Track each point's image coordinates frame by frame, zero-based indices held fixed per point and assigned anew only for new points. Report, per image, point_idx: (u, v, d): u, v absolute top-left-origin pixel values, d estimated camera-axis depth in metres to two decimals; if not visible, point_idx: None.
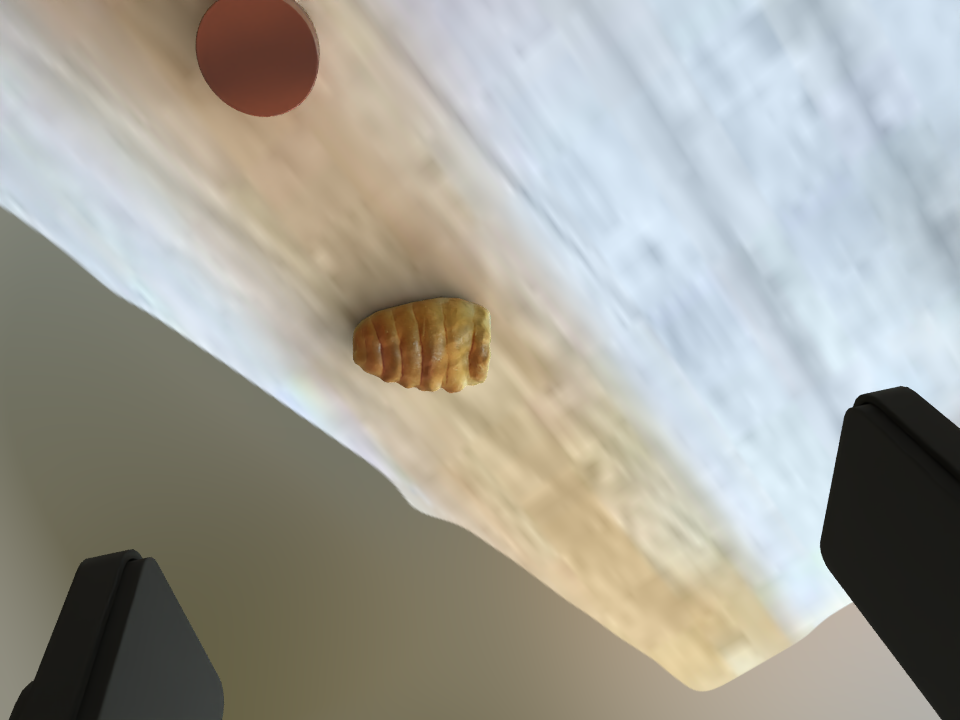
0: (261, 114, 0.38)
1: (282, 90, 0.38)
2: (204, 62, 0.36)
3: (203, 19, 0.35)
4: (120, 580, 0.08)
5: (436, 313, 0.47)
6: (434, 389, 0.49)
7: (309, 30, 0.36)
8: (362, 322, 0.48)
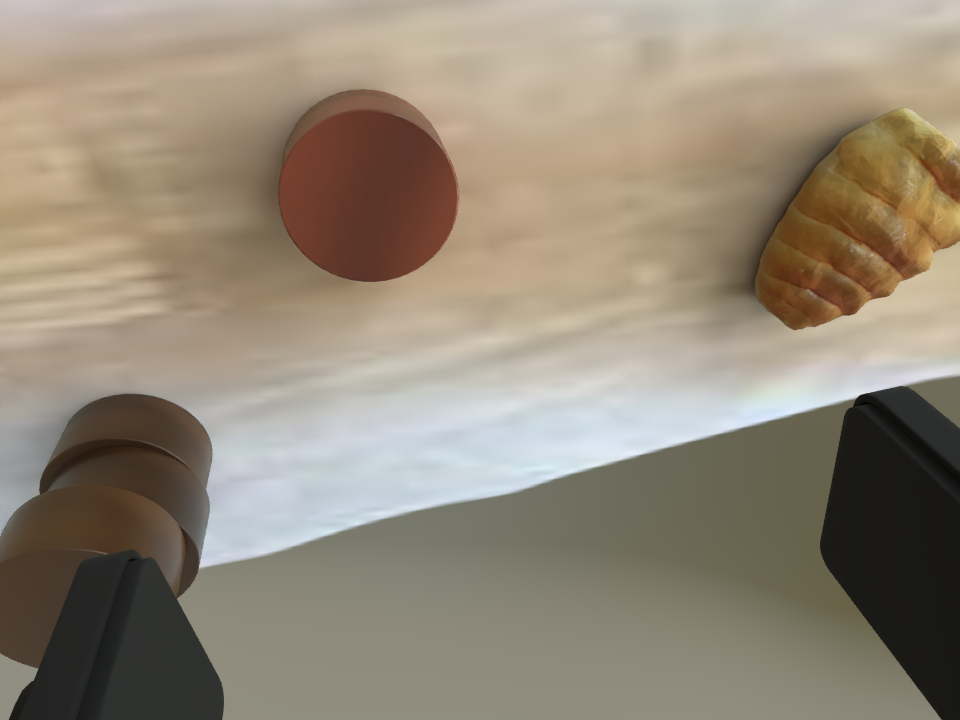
0: (439, 244, 0.25)
1: (428, 200, 0.25)
2: (341, 269, 0.25)
3: (292, 236, 0.24)
4: (120, 580, 0.08)
5: (841, 189, 0.28)
6: (929, 265, 0.30)
7: (377, 111, 0.23)
8: (758, 283, 0.32)
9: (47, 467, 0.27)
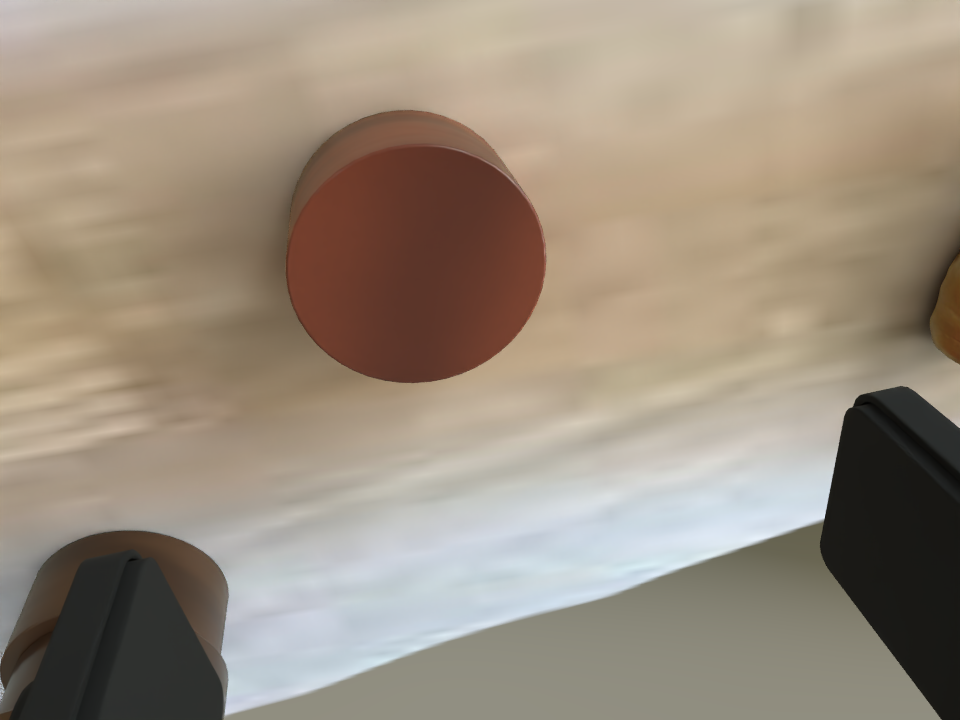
0: (520, 324, 0.18)
1: (503, 266, 0.17)
2: (383, 369, 0.18)
3: (310, 333, 0.17)
4: (120, 580, 0.08)
5: None
6: None
7: (424, 146, 0.15)
8: (936, 323, 0.23)
9: (6, 650, 0.20)
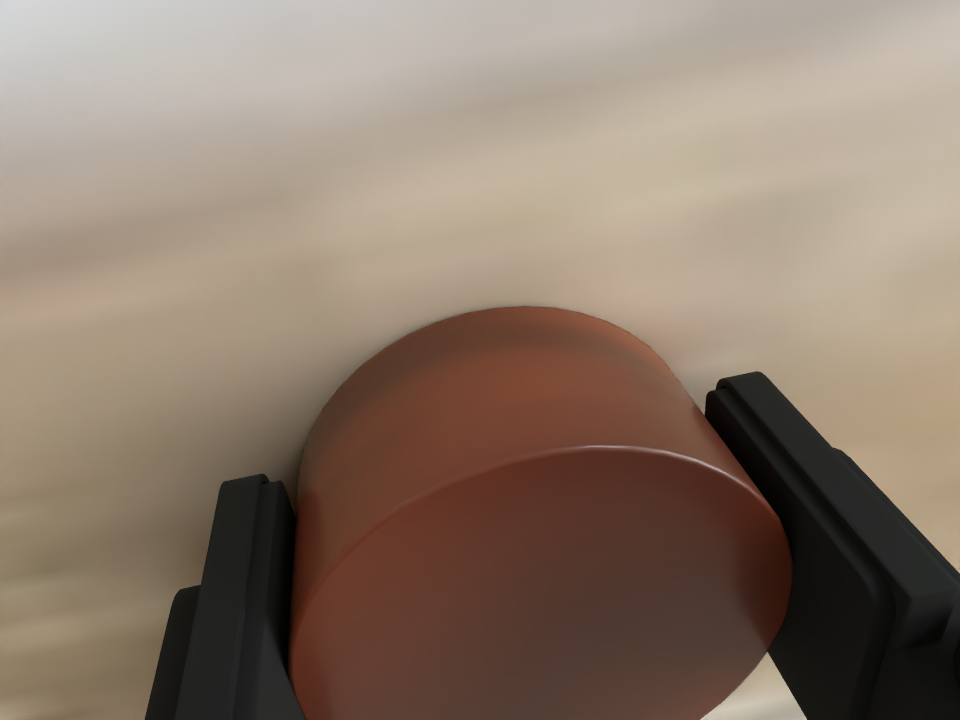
0: (722, 697, 0.10)
1: (710, 623, 0.09)
2: None
3: None
4: (260, 498, 0.09)
5: None
6: None
7: (588, 451, 0.07)
8: None
9: None
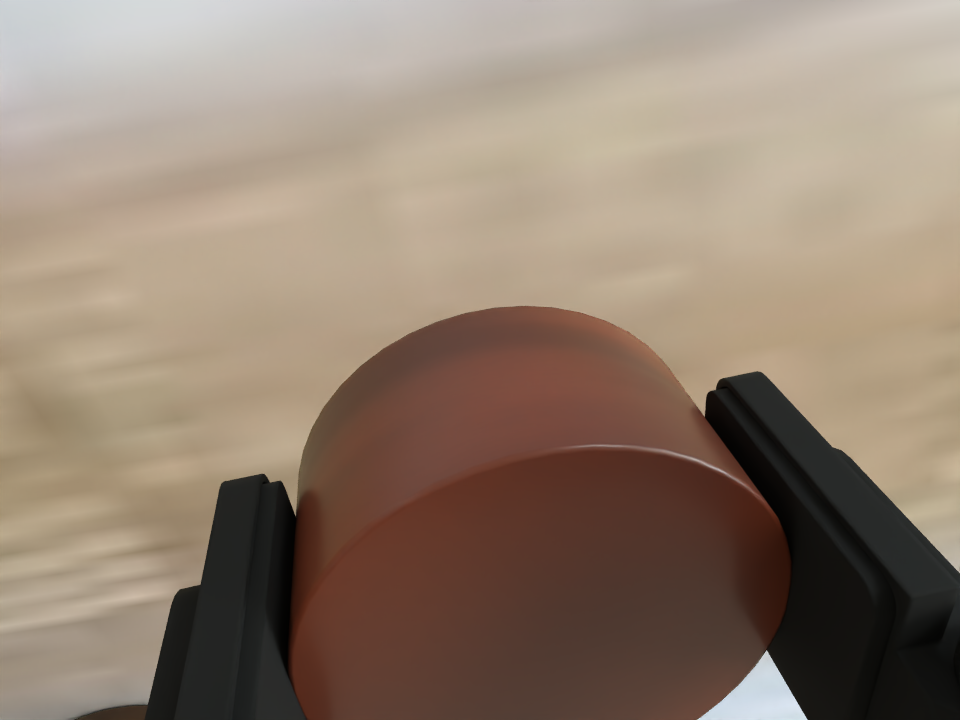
0: (721, 696, 0.10)
1: (708, 622, 0.09)
2: None
3: None
4: (260, 498, 0.09)
5: None
6: None
7: (587, 450, 0.07)
8: None
9: None
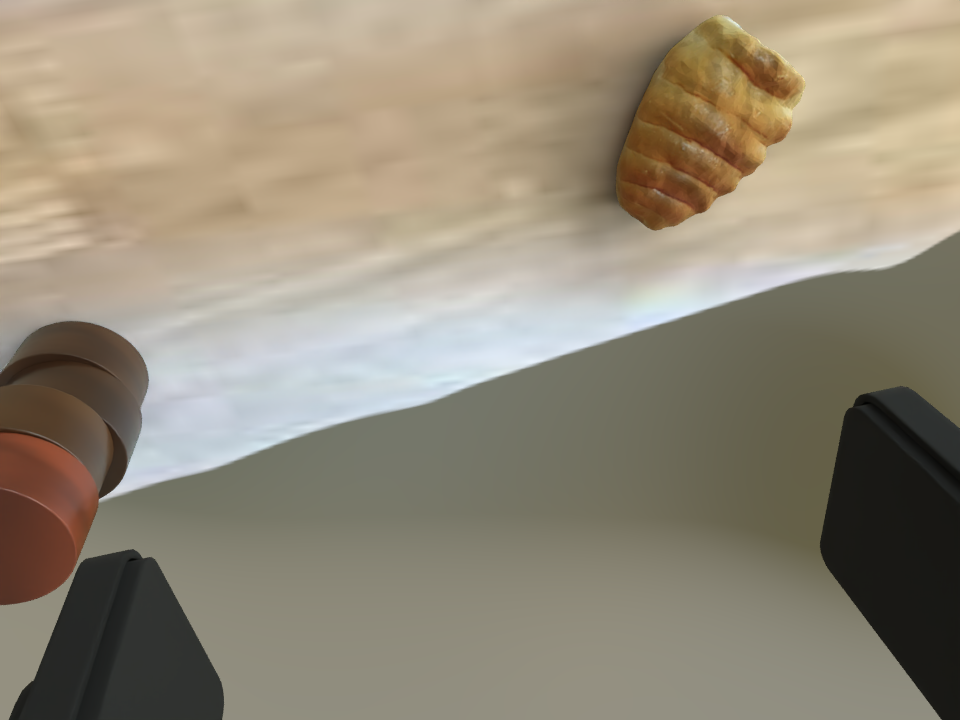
0: (69, 570, 0.27)
1: (42, 541, 0.26)
2: None
3: None
4: (120, 580, 0.08)
5: (668, 92, 0.31)
6: (762, 158, 0.33)
7: None
8: (617, 189, 0.35)
9: None
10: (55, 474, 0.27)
